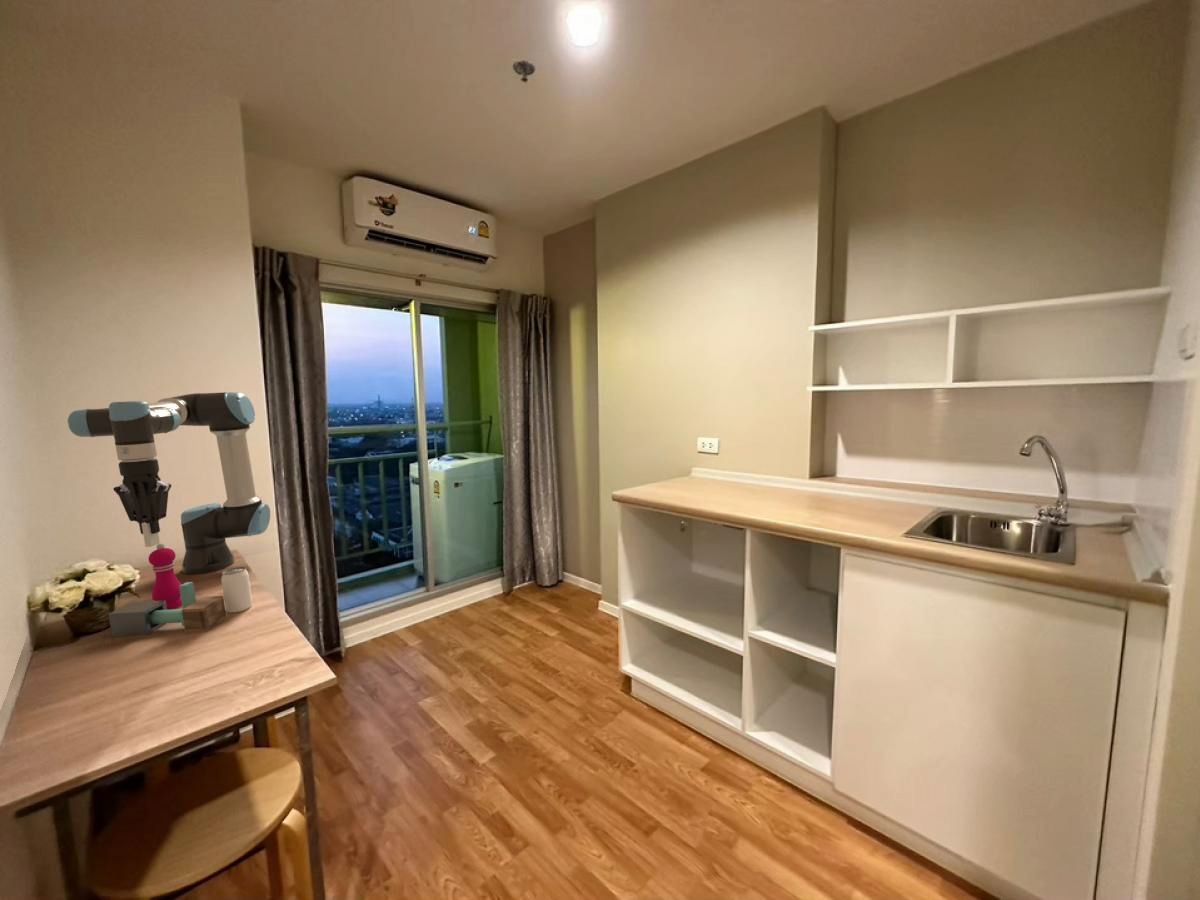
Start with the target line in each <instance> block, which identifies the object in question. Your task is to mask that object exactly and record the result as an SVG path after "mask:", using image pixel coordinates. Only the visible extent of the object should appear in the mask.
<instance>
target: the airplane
mask: <svg viewBox="0 0 1200 900" xmlns="http://www.w3.org/2000/svg"><path fill="white" fill-rule="evenodd" d="M181 584H182V585H180V586H179V587H180V594H181V600H182V605H181V606H182V608H179V609H178V608H175V609H172V610H155V611H150V612H148V615H149V621H150V624H164V623H167V624H175V623H176V624H177V623H178V624H179V623H181V627H184V621H183V615H182V609H183V608H185V607H187V606H189V605H190V604H192V603H194V602H196V601H197V598H196V593H195V591H196V590H195V586H194V582H193V581H186V582H184V583H181Z"/></svg>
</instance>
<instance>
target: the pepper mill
mask: <svg viewBox="0 0 1200 900" xmlns="http://www.w3.org/2000/svg"><path fill="white" fill-rule="evenodd" d="M176 555H177V554H176V552H175V551H174V549H172V548H167V547H165V545H164V543H159V544H157V545H156V549H154V550H153V551H152V552H150V553H149V555H148V563H149V564H150V565H152V572H154V573H155V583H154V586H153V588H152V593H151V598H152V601H160V600H166V606H167V610H172V609H178V608H180V607H181V606H182V600H181V594H180V587H179V586H180V585H182V584H183V583H182V582H181V581H180V580H178V578H177V576H176V574H175V571H174V569H175V567H176V565H175V564H176V563H175V562H174V560H175V559H176Z"/></svg>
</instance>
